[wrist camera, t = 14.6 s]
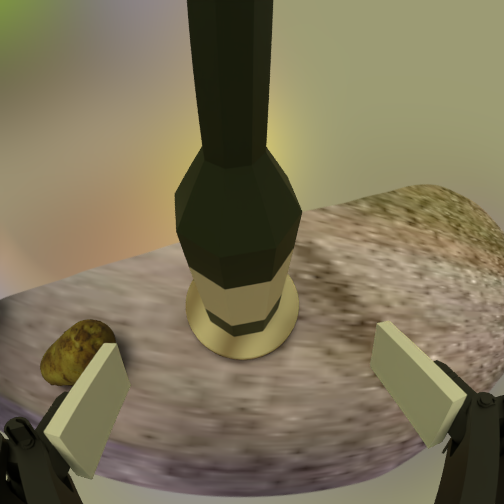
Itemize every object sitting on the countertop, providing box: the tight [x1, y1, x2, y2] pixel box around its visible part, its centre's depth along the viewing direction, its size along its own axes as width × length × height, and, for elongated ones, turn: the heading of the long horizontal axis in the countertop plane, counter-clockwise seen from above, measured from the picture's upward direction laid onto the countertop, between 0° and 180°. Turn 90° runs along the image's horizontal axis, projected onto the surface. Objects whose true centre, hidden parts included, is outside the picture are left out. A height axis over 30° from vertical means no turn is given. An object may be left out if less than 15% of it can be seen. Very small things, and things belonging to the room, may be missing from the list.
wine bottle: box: [175, 0, 302, 337], centre depth 19 cm, size 8×8×30 cm
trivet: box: [186, 274, 299, 360], centre depth 33 cm, size 13×13×3 cm
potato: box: [40, 319, 116, 386], centre depth 26 cm, size 8×13×8 cm, turn 96°
